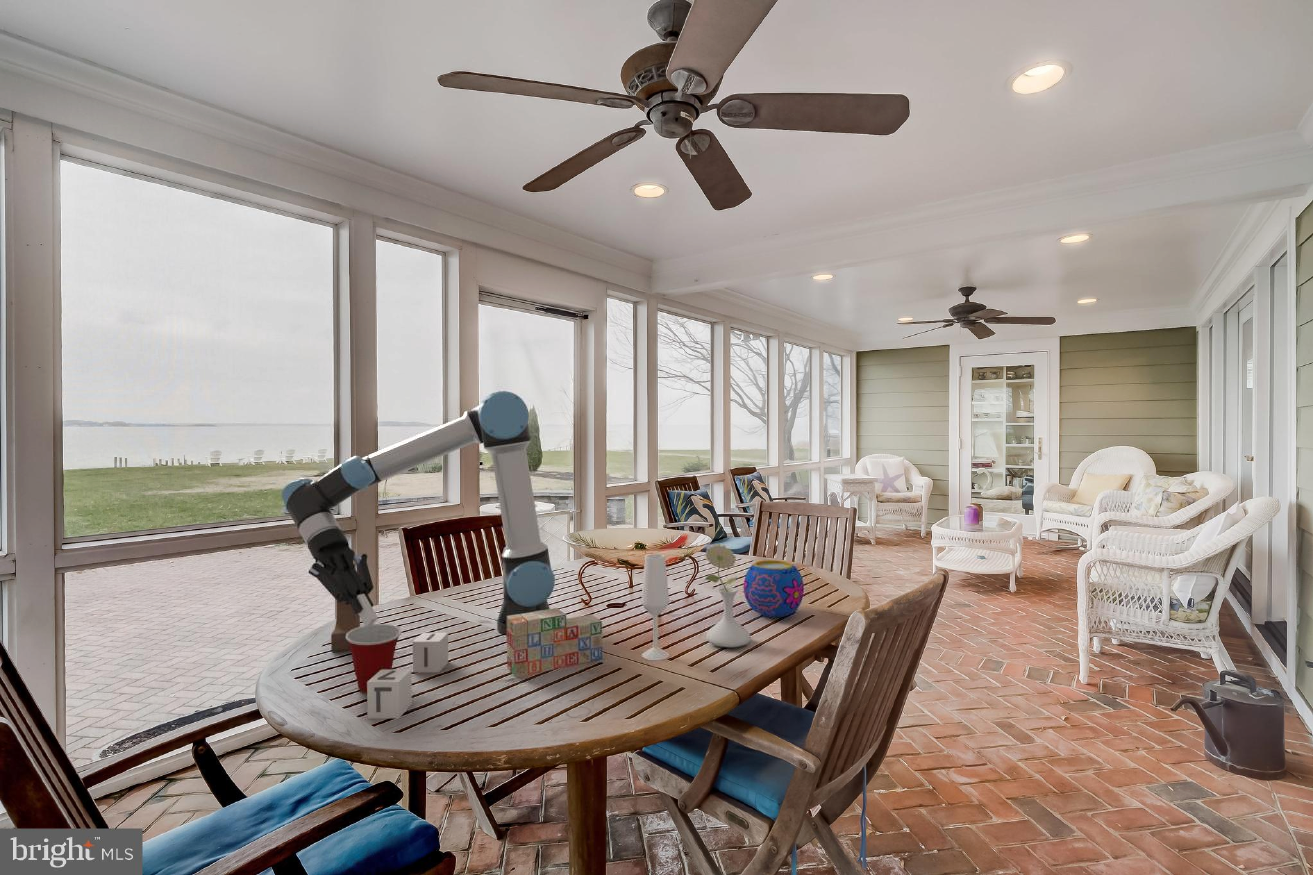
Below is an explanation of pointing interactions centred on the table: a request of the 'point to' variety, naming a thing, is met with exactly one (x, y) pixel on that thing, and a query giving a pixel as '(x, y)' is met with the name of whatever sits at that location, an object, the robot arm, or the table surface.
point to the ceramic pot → (773, 588)
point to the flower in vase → (725, 602)
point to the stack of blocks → (551, 641)
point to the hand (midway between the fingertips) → (371, 622)
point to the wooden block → (343, 626)
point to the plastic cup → (372, 650)
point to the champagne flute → (655, 598)
